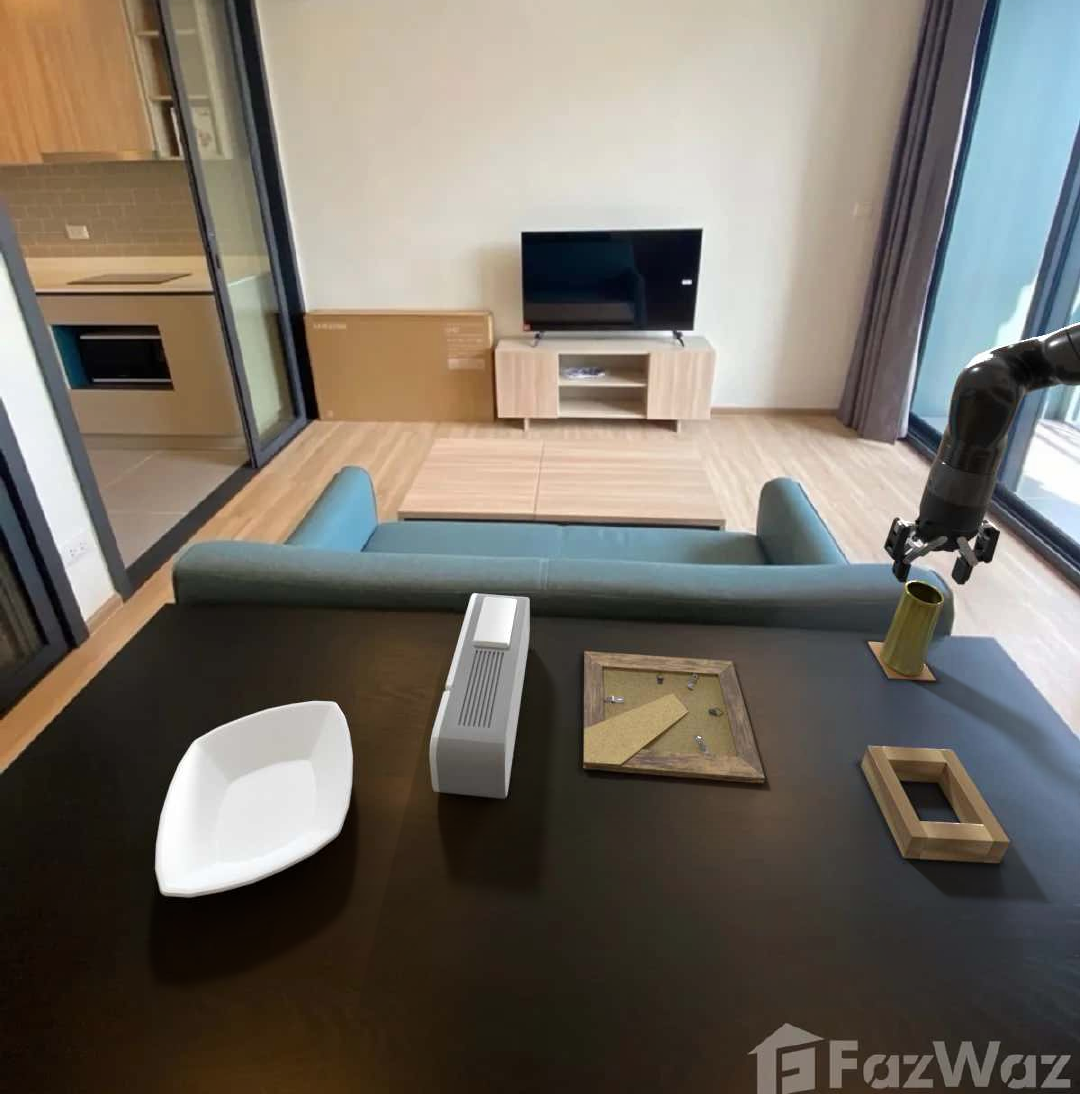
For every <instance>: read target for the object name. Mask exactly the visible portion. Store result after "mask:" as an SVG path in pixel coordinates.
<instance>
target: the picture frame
mask: <svg viewBox="0 0 1080 1094" xmlns="http://www.w3.org/2000/svg"><path fill="white" fill-rule="evenodd" d="M583 653H584V654H583V659H584V662H583V757H582V758H583V763H582V764H583V766H582V767H583V770H589V771H590V770H591V771H604V772H616V773H628V774H639V775H640V774H641V775H653V776H665V777H666V776H667V777H679V778H691V779H702V780H703V779H704V780H717V781H727V782H728V781H729V782H739V783H740V782H741V783H752V784H764V781H765V778H766V777H765V773H764V769H763V766H762V762H761V759H760V755H759V752H758V749H757V745H756V740H755V738H754V737H755V736H754V733H753V730H752V727H751V722H750V720H749V716H748V712H747V709H746V704H745V702H744V701H745V700H744V698H743V695H742V690H741V687H740V683H739V680H738V676H737V673H736V669H735V666H734V662H733V661H732V660H721V659H720V660H719V659H707V658H705V659H704V658H689V657H676V656H675V657H674V656H662V655H661V656H659V655H645V654H630V653H616V652H601V651H599V652H598V651H587V650H584V652H583Z"/></svg>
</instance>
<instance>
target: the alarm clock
mask: <svg viewBox="0 0 1080 1094" xmlns="http://www.w3.org/2000/svg"><path fill="white" fill-rule="evenodd" d="M530 603H531V602H530V598H529V597H527V596H514V595H503V594H502V595H499V594H488V593H475V592H474V593H472V594H471V595H470V597H469V602H468V606H467V608H466V610H465V614H464V619H463V622H462V626H461V629H460V632H459V636H458V640H457V644H456V647H455V650H454V654H453V658H452V661H451V665H450V669H449V671H448V675H447V679H446V681H445V687H444V688H445V690H444V691H443V693H442V697H441V700H440V704H439V707H438V710H437V714H436V717H435V720H434V725H433V728H432V732H431V736H430V742H429V751H428V752H429V753H428V757H429V759H428V760H429V769H430V778H431V787H432V790H433V792H435V793H442V794H443V793H444V794H453V795H463V796H471V797H472V796H473V797H483V798H484V797H485V798H492V799H501V800H505V799H506V798H507V797H508V792H509V786H510V780H511V779H510V778H511V771H512V765H513V759H514V751H515V745H516V737H517V729H518V723H519V716H520V708H521V701H522V694H523V686H524V680H525V673H526V665H527V659H528V652H529V644H530V632H531V631H530V629H531V626H530V625H531V624H530V623H531V621H530V620H531V619H530V617H531V616H530V615H531V612H530V611H531V608H530V605H531V604H530Z"/></svg>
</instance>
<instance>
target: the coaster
mask: <svg viewBox="0 0 1080 1094" xmlns="http://www.w3.org/2000/svg"><path fill="white" fill-rule="evenodd" d="M867 644H868V646H869V647H870V649H871V651H872V652H873V654H874V656H875V657H876V659H877V661H878V663H879V665H880V666H881V668H882V670H883V671H884V672H885V674H886V676H887V678H888V679H890V680H910V681H913V680H914V681H935V682H936V681H937V679H936V678H935V676H934V675H933V674H932V672H931V671H930V669H929V668H928V666H927V664H926V663H925V662H924V668H923V671H922V672H921V673H920V674H919V675H914V676H910V675H904V674H901V673H899V672H897V671H895V670H893V669H892V668H890V667H889V666H888V665H887V664H886V663H885V662H884V661H883V659H882V657H881V653H880V650H881V647H882V646H883V644H884V642H878V641H877V642H875V641H867Z"/></svg>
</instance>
